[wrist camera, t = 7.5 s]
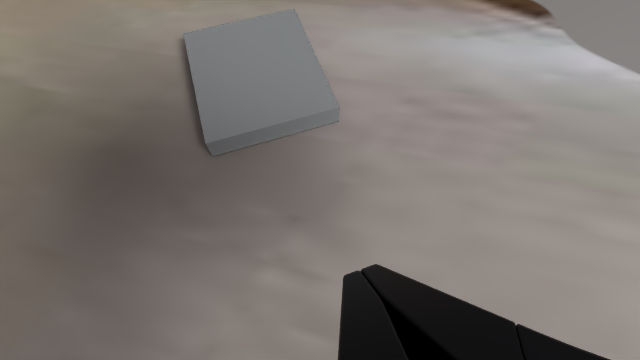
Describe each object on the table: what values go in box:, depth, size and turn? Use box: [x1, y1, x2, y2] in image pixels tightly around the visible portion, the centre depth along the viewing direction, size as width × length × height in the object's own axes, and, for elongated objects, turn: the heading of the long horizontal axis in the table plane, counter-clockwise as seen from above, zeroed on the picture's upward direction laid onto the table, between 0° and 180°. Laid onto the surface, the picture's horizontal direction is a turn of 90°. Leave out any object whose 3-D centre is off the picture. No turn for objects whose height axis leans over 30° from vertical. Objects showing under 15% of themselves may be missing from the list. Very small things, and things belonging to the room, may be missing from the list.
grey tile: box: [183, 9, 339, 156], centre depth 27 cm, size 2×10×12 cm
